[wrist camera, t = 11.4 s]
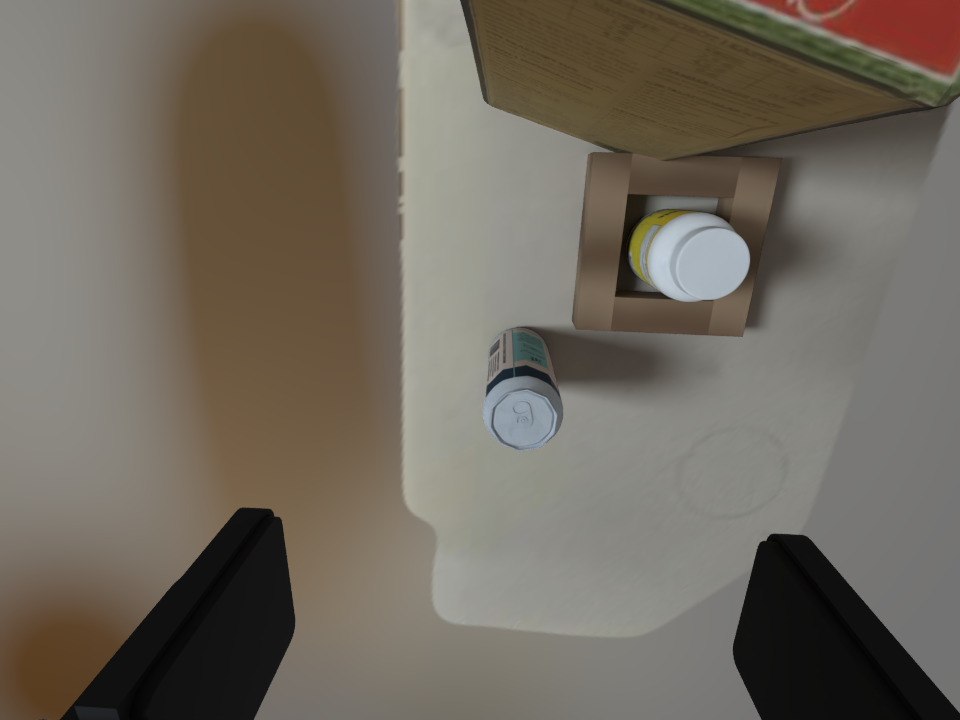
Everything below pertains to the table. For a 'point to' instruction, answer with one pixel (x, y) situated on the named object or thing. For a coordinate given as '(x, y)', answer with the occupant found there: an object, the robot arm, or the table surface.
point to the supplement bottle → (688, 254)
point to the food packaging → (711, 67)
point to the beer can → (521, 391)
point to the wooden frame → (619, 174)
